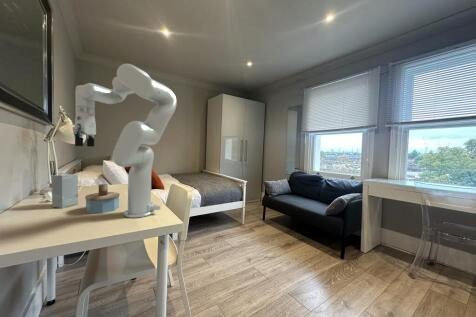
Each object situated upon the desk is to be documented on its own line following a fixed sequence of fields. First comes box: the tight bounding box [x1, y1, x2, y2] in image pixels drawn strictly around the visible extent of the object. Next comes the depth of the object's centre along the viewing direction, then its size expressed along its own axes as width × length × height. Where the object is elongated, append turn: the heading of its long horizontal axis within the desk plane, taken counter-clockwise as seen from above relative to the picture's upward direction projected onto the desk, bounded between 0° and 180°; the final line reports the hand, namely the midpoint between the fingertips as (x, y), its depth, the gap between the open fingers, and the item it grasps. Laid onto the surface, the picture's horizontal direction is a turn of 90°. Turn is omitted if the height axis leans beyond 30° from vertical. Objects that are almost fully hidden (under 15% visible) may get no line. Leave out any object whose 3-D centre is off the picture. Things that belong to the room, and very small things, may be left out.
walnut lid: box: [84, 183, 120, 201], centre depth 96 cm, size 14×14×6 cm
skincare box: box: [51, 173, 79, 209], centre depth 100 cm, size 8×7×16 cm
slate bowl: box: [85, 196, 120, 214], centre depth 96 cm, size 12×12×6 cm
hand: (85, 146), depth 99 cm, fingers open, 9 cm apart
